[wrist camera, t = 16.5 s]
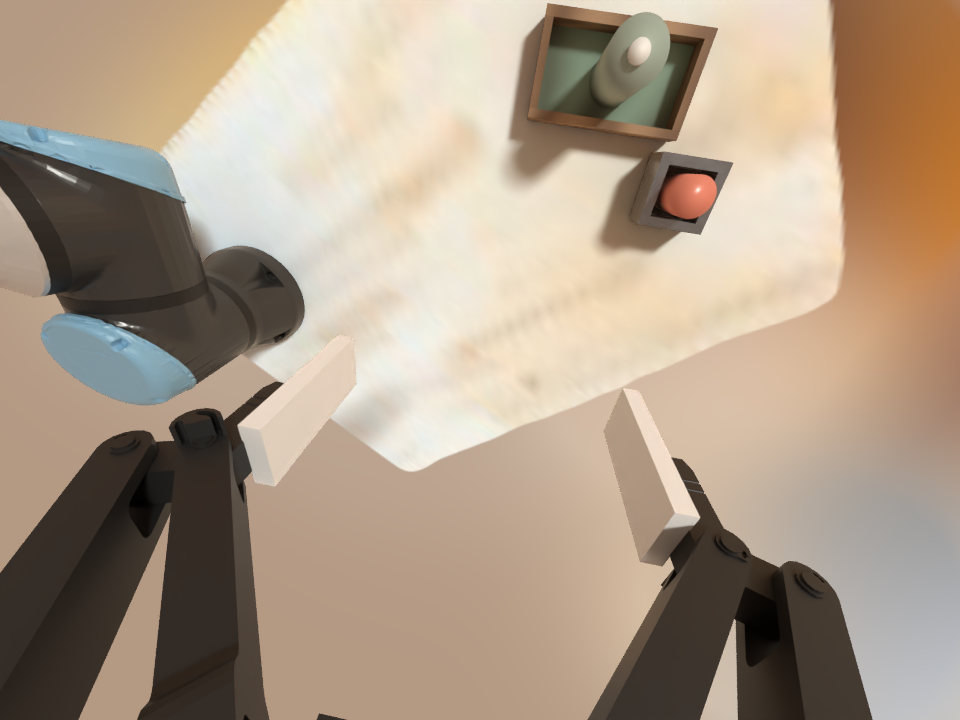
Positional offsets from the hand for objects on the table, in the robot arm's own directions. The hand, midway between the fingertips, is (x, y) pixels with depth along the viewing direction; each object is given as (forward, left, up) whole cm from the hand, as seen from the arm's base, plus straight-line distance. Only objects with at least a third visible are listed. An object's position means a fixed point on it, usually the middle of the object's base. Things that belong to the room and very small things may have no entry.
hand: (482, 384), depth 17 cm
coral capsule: (+17, +9, -32) cm, 37 cm away
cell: (+7, +18, -32) cm, 38 cm away
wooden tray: (+7, +18, -33) cm, 38 cm away
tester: (+17, +9, -33) cm, 38 cm away
